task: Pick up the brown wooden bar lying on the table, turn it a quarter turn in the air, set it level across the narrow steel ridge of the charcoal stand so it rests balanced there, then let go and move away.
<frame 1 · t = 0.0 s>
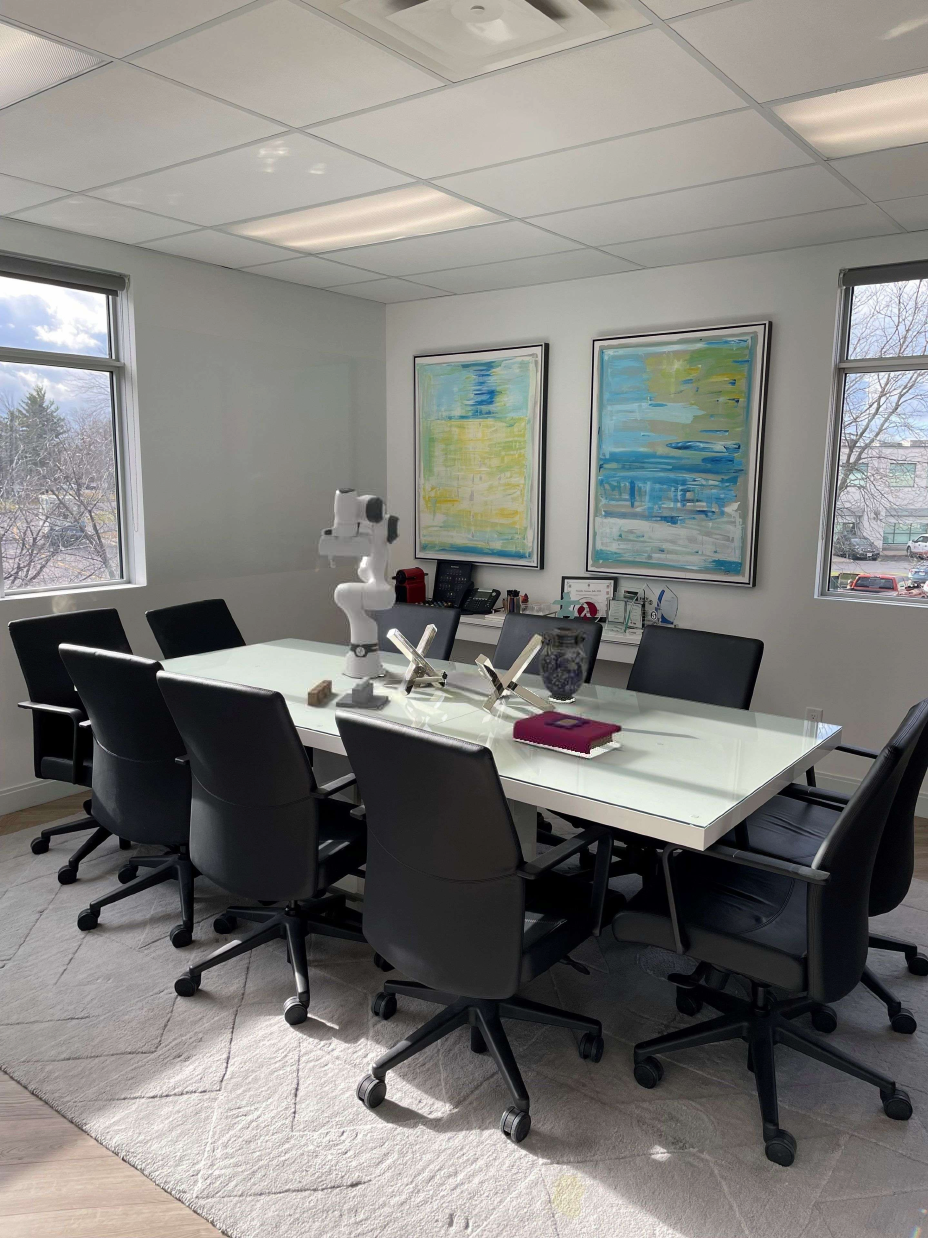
hand: (345, 567, 341), 48 cm above the table, tool pointing down, fingers open, 8 cm apart
brown wooden bar: (320, 699, 335), on the table
decorative vase: (561, 700, 345), on the table
book: (567, 745, 286), on the table
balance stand: (362, 703, 330), on the table
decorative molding: (472, 690, 360), on the table
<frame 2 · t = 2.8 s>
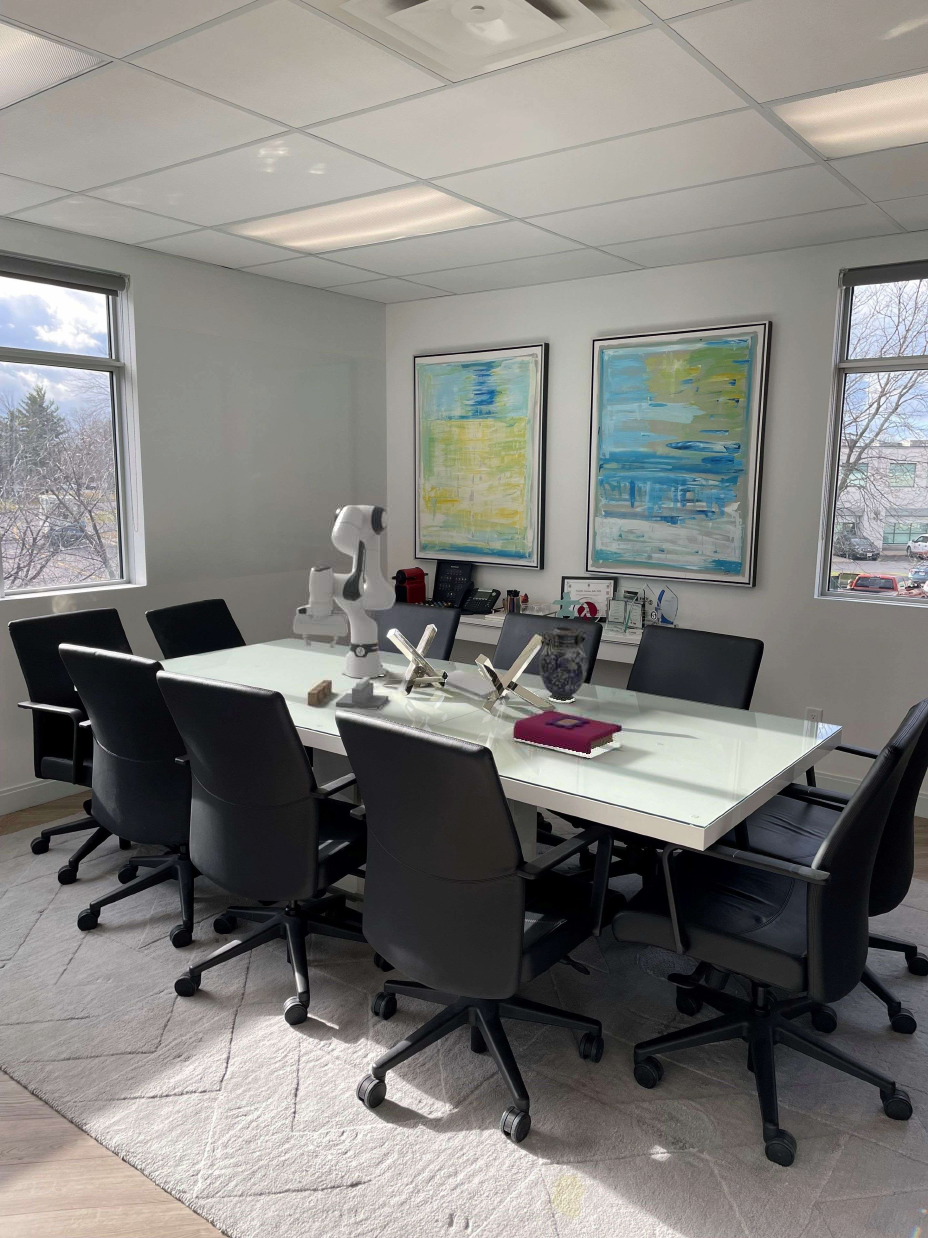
hand: (320, 646, 332), 20 cm above the table, tool pointing down, fingers open, 8 cm apart
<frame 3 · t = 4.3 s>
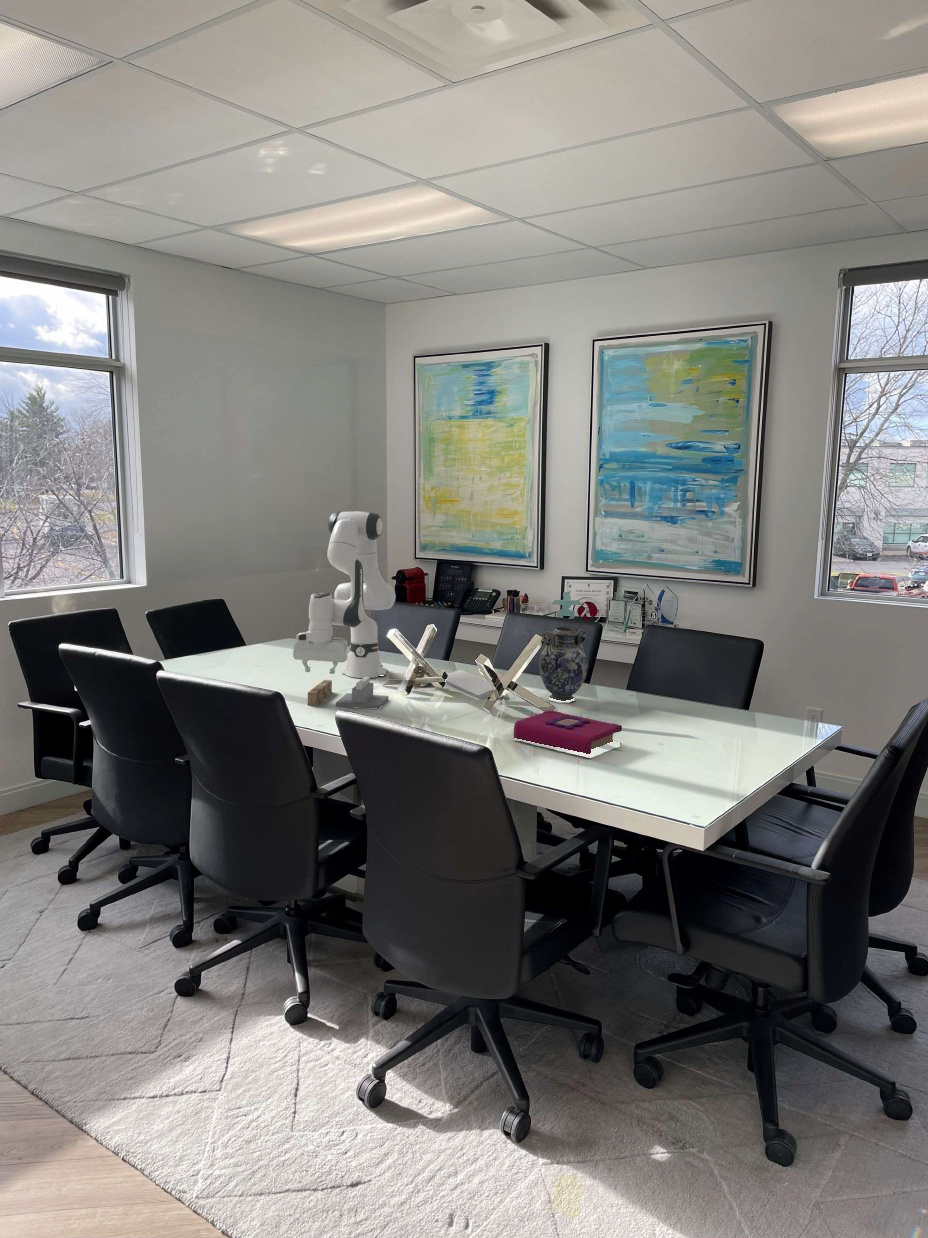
hand: (320, 672, 333), 10 cm above the table, tool pointing down, fingers open, 8 cm apart
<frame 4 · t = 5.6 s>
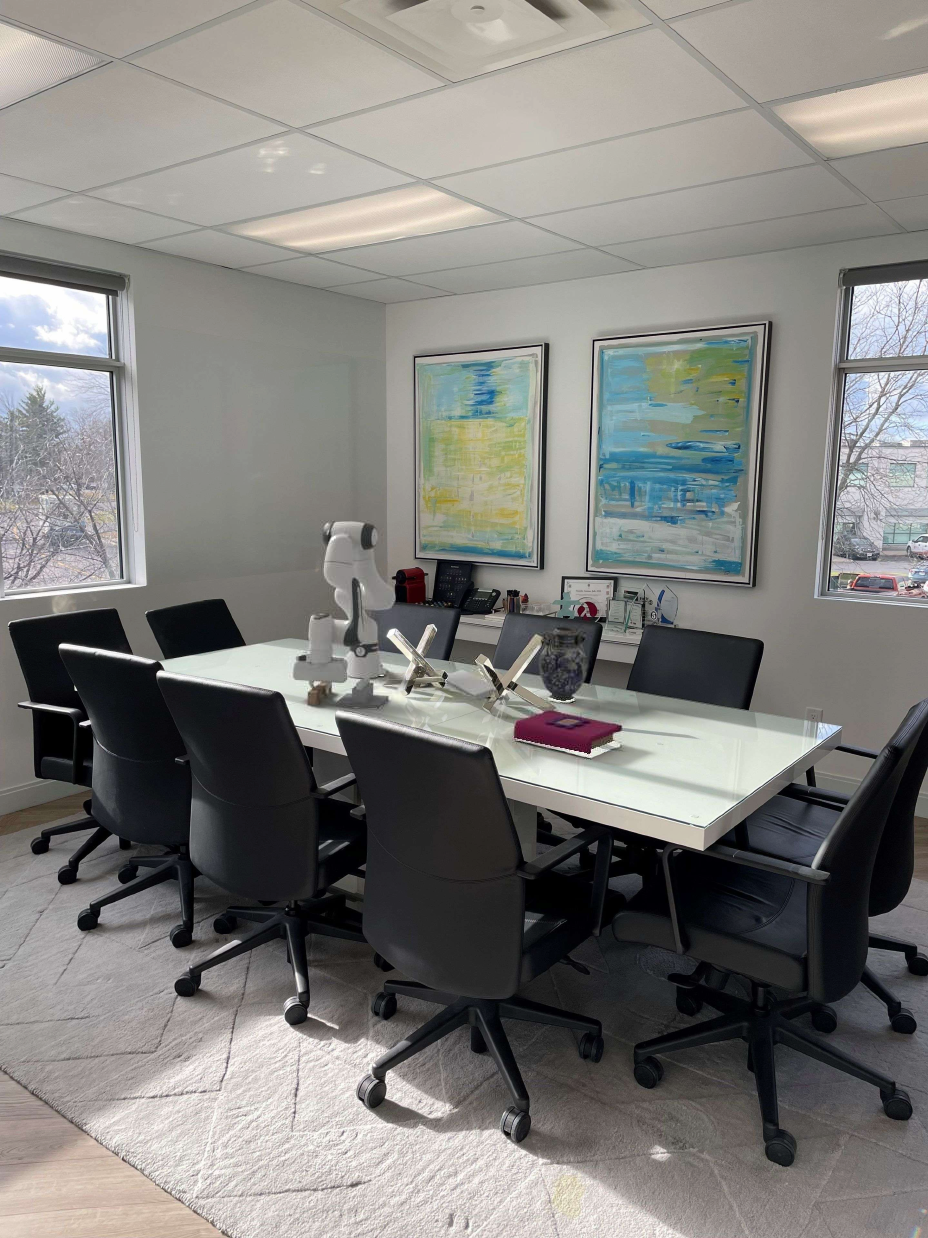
hand: (320, 693, 334), 2 cm above the table, tool pointing down, fingers closed on brown wooden bar, 3 cm apart
brown wooden bar: (320, 699, 335), on the table, touching gripper
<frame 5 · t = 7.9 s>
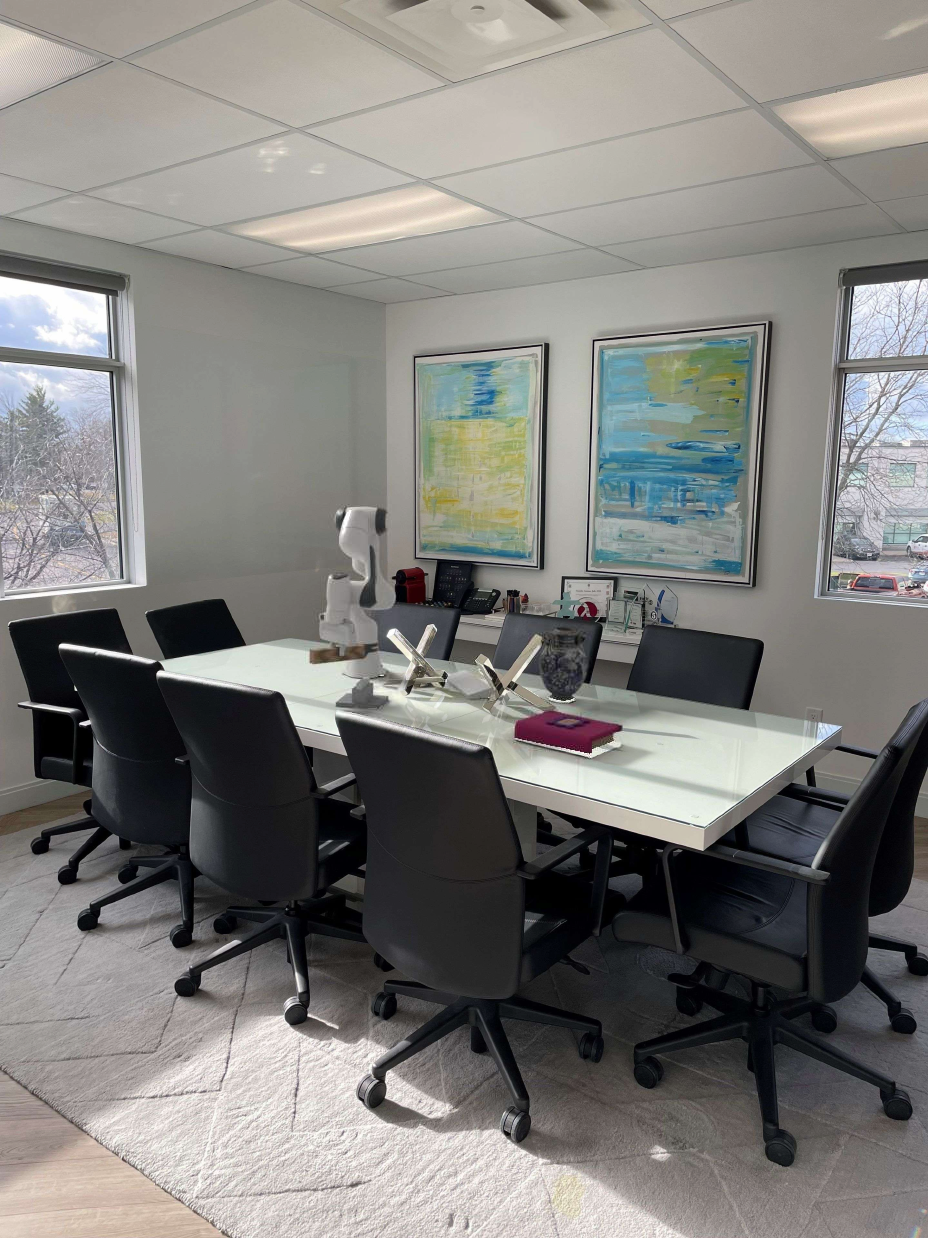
hand: (337, 654, 330), 17 cm above the table, tool pointing down, fingers closed on brown wooden bar, 3 cm apart
brown wooden bar: (337, 660, 330), point 15 cm above the table, touching gripper
when the fingers open (12 cm above the table, at t = 9.8 s): brown wooden bar stays where it is, resting on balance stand.
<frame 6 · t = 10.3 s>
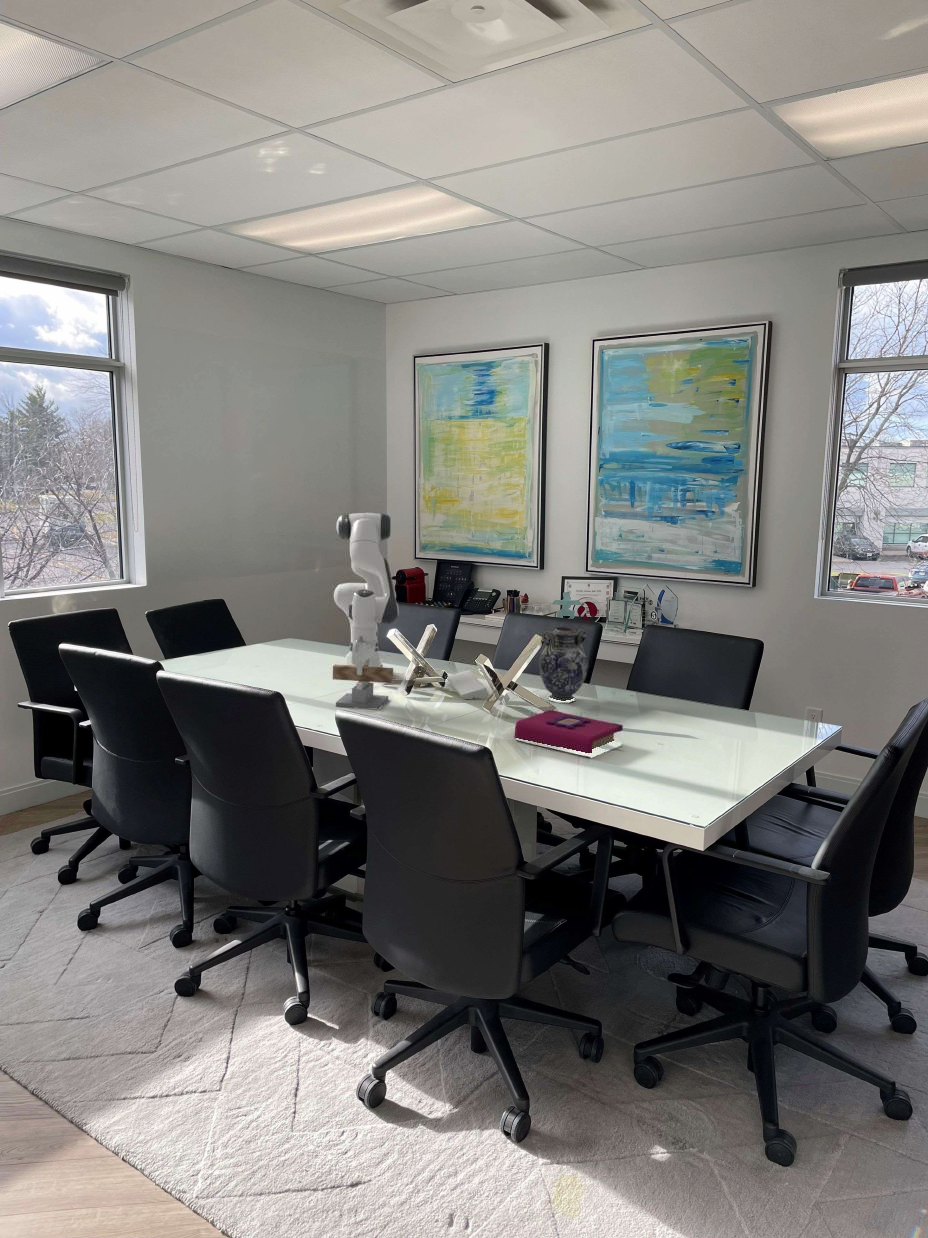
hand: (363, 672, 328), 12 cm above the table, tool pointing down, fingers open, 8 cm apart
brown wooden bar: (362, 680, 329), point 8 cm above the table, touching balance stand
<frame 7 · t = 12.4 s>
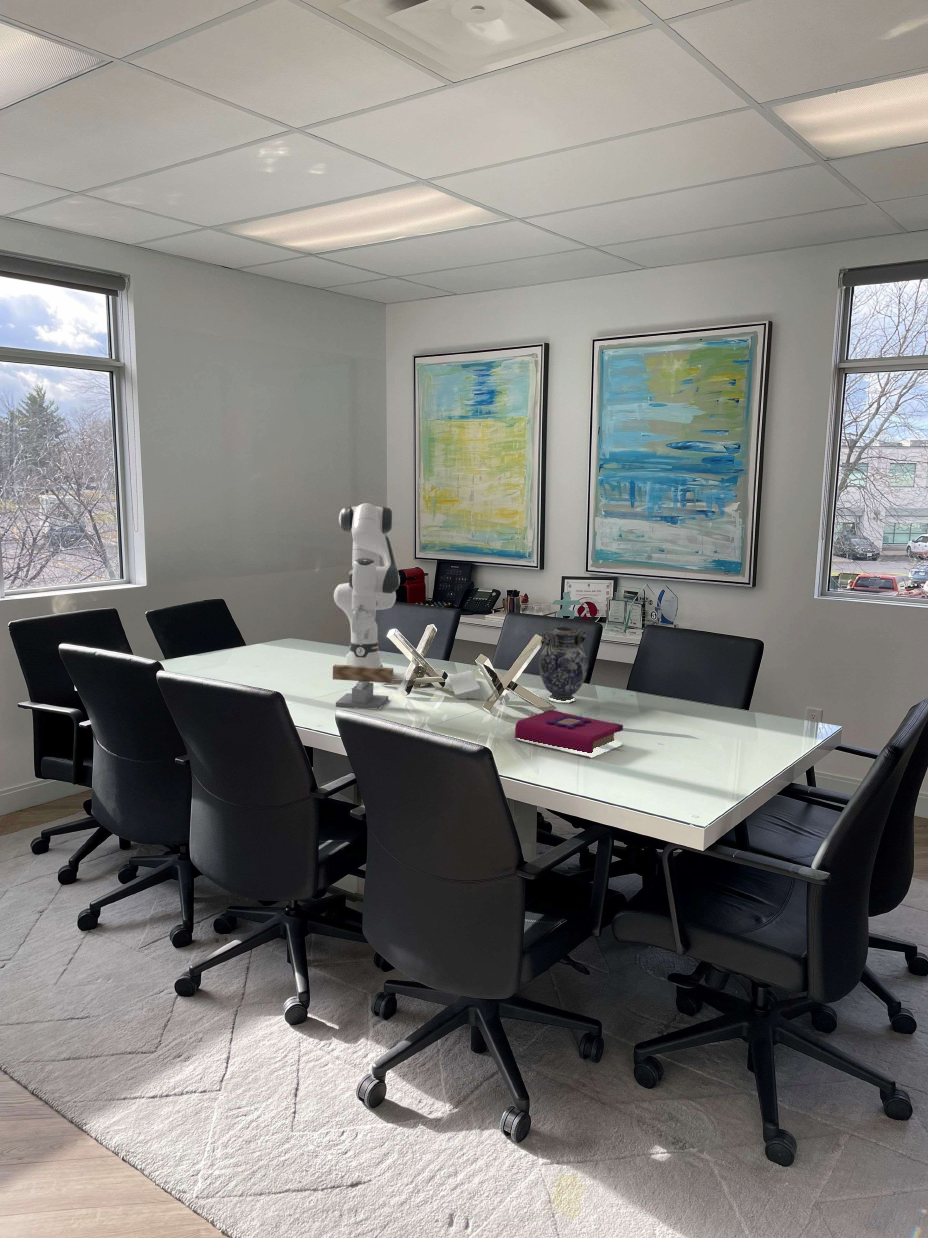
hand: (363, 641, 327), 23 cm above the table, tool pointing down, fingers open, 8 cm apart
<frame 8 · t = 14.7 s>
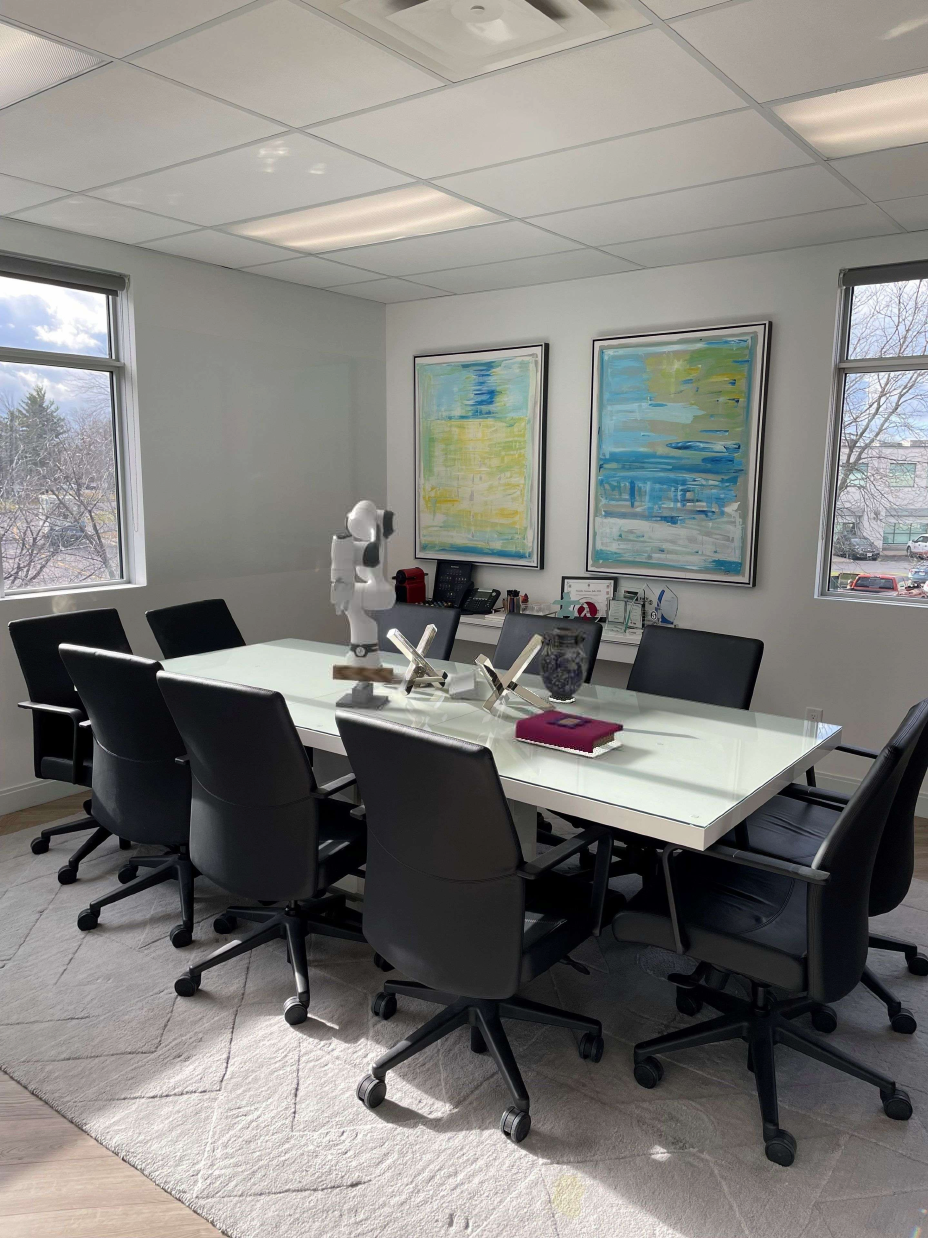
hand: (342, 612, 340), 31 cm above the table, tool pointing down, fingers open, 8 cm apart
at the end: brown wooden bar 0.1 cm off-centre on the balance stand, point 8.5 cm above the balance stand's base; brown wooden bar tilted 0°; the gripper is holding nothing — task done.
